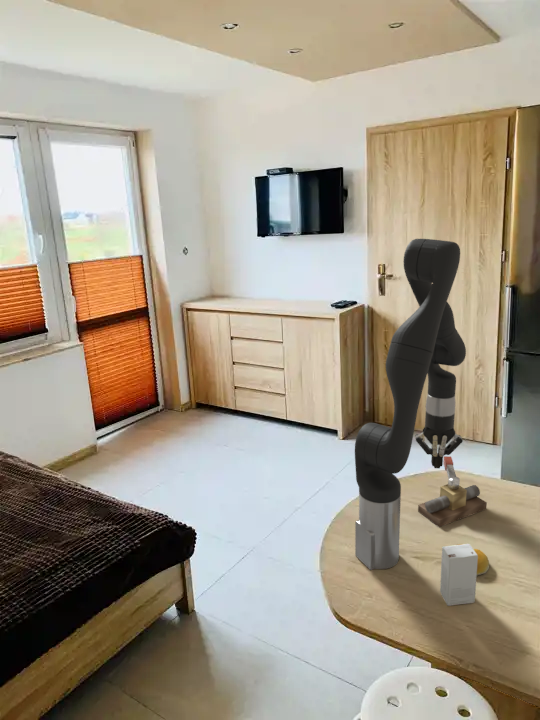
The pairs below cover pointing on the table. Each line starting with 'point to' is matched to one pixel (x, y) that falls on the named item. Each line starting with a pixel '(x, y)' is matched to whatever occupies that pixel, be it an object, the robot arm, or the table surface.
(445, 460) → the valve lever
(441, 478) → the table surface
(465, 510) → the valve board
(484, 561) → the bread roll
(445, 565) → the skincare box
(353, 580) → the table surface
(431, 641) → the table surface
